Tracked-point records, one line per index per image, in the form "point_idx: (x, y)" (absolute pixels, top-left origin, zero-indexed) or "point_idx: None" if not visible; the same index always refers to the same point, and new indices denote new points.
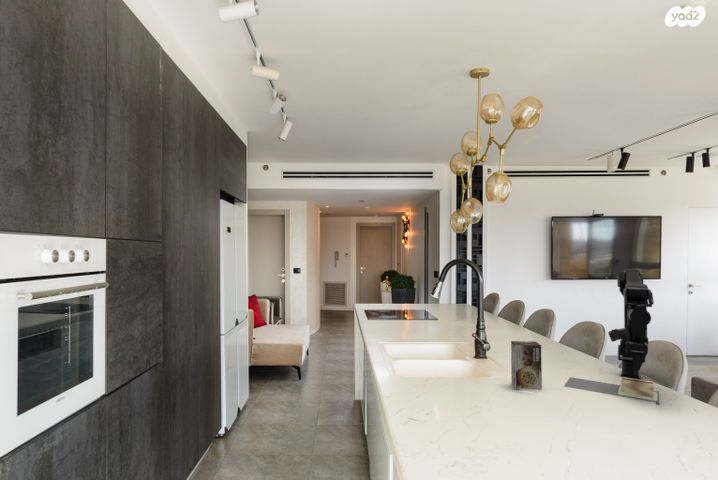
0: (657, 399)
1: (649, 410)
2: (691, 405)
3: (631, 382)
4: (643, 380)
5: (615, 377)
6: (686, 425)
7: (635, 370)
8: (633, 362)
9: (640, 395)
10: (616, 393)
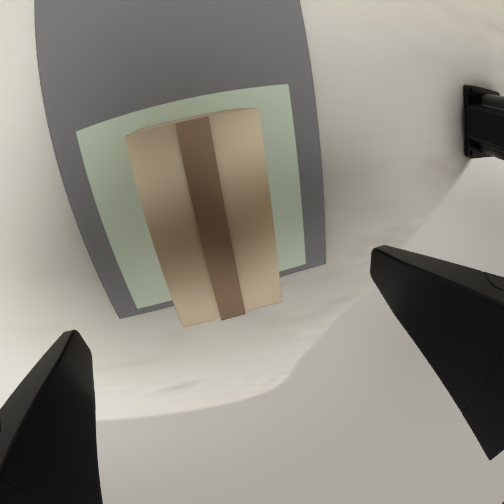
0: (168, 300)
1: (15, 305)
2: (226, 371)
3: (144, 208)
4: (272, 253)
5: (447, 63)
6: (14, 389)
7: (67, 332)
8: (11, 399)
9: None
10: (90, 117)
